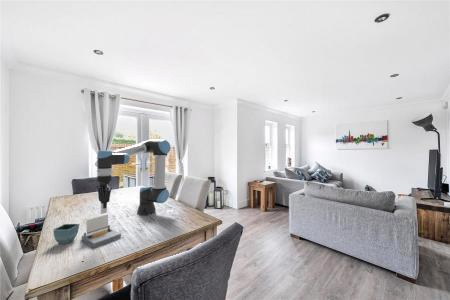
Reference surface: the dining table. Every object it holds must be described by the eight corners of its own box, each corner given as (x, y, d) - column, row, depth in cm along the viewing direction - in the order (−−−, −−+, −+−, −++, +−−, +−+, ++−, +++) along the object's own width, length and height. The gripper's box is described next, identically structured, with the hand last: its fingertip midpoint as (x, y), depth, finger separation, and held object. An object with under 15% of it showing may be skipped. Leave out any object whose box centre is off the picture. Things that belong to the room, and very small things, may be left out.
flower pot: (64, 238, 113) (64, 223, 113) (79, 238, 114) (79, 223, 114) (52, 245, 105) (52, 229, 105) (68, 245, 105) (69, 229, 105)
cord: (91, 234, 113) (93, 234, 111) (105, 229, 120) (107, 229, 118) (91, 239, 113) (93, 239, 111) (105, 234, 119) (107, 234, 118)
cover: (87, 234, 111) (86, 233, 112) (108, 227, 121) (107, 227, 122) (87, 219, 112) (86, 219, 112) (108, 214, 122) (107, 214, 122)
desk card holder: (81, 239, 112) (81, 232, 112) (108, 231, 125) (108, 224, 125) (93, 247, 103) (94, 239, 103) (120, 237, 116) (121, 230, 116)
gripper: (92, 174, 114) (91, 212, 114) (103, 176, 107) (102, 217, 107) (105, 173, 120) (104, 209, 120) (116, 175, 113) (115, 213, 113)
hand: (103, 213), depth 114 cm, fingers closed
